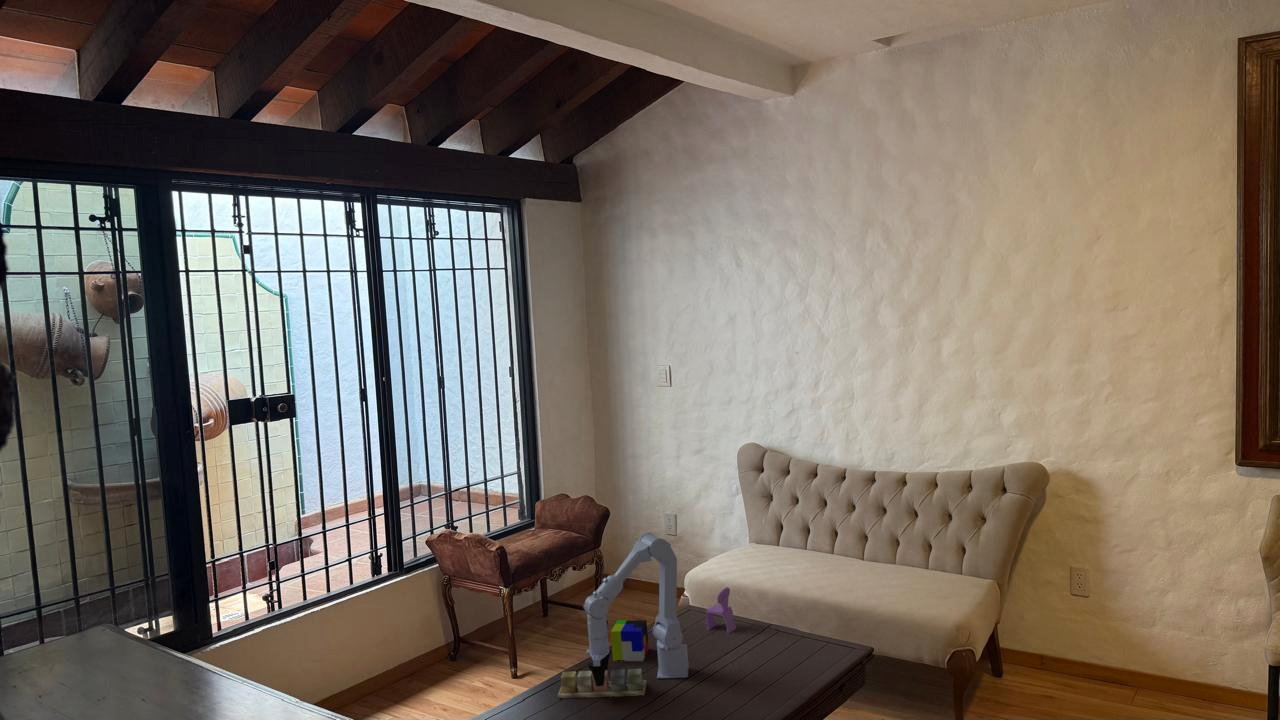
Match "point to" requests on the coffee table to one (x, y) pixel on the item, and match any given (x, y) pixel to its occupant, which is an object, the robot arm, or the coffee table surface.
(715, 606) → the toy chair
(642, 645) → the puzzle toy
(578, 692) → the rack
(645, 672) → the coffee table surface
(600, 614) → the robot arm
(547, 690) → the coffee table surface
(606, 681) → the terracotta block
